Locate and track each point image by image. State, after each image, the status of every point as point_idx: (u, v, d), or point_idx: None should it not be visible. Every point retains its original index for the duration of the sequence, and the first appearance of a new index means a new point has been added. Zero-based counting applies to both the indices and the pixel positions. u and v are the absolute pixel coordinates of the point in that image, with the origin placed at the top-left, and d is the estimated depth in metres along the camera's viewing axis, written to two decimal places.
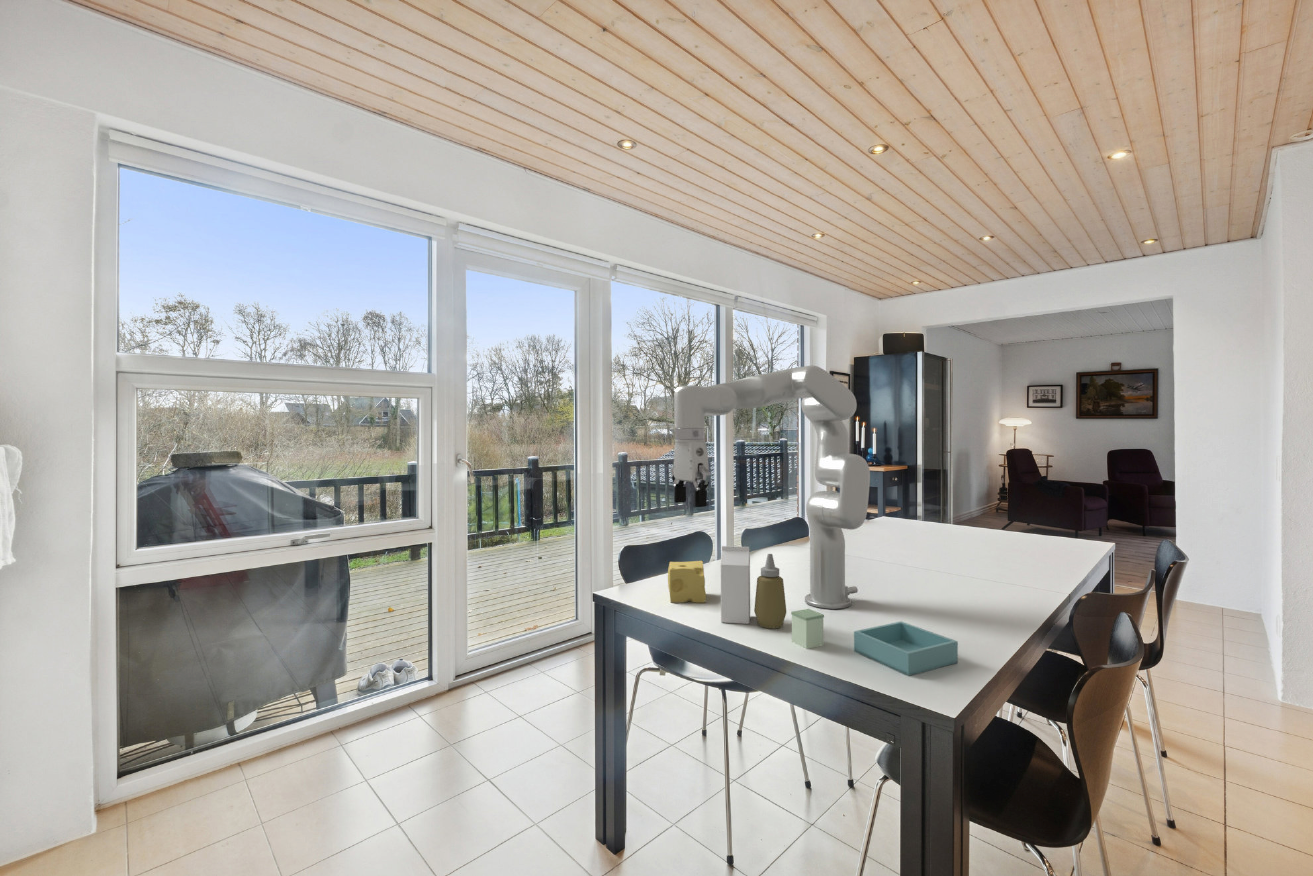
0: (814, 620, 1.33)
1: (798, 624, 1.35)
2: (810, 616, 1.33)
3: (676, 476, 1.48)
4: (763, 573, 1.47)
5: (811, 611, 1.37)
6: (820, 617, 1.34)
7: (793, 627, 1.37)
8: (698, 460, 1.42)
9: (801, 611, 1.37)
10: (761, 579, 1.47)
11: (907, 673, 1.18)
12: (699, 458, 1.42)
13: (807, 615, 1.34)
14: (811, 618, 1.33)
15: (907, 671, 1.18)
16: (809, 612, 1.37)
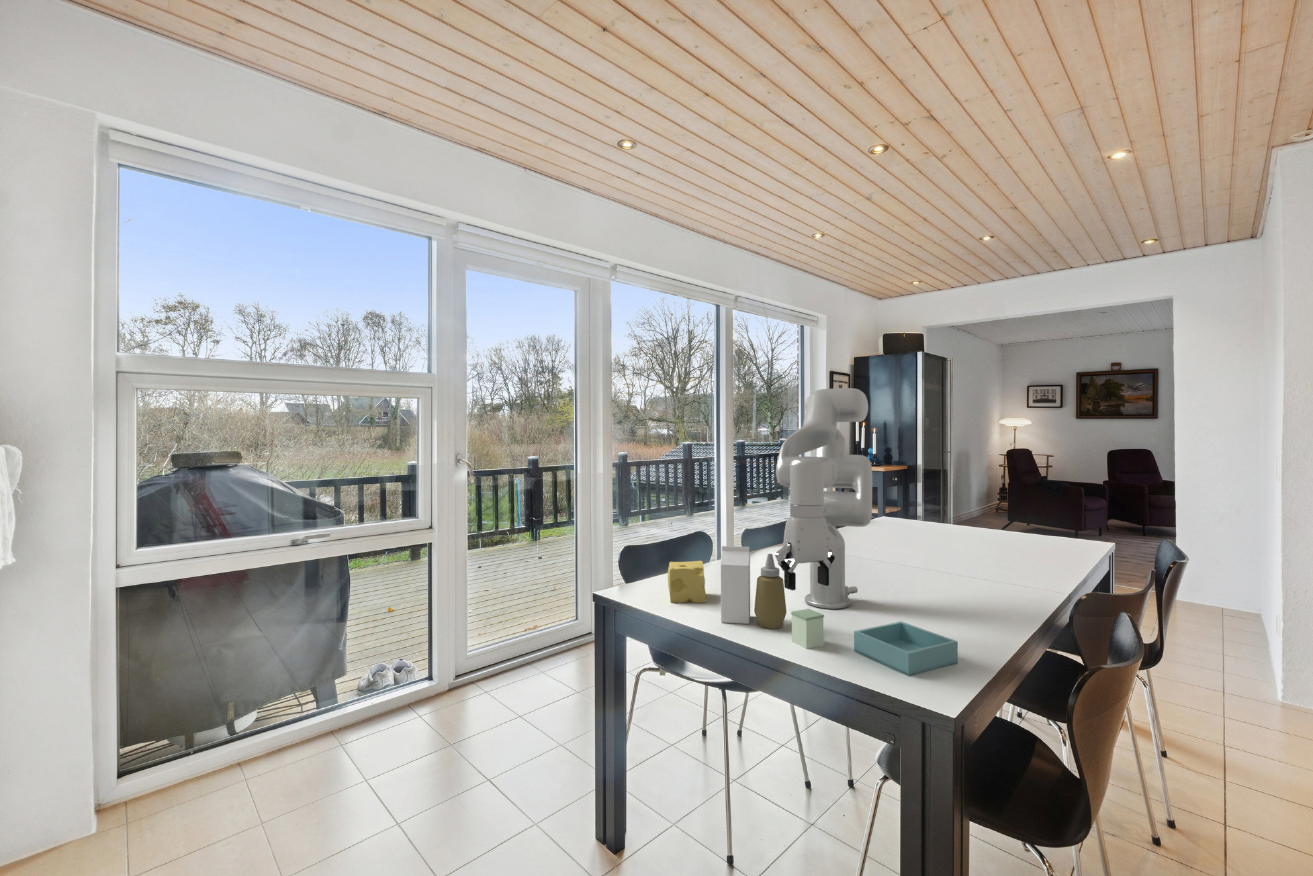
0: (814, 620, 1.33)
1: (798, 624, 1.35)
2: (810, 616, 1.33)
3: (802, 559, 1.32)
4: (763, 573, 1.47)
5: (811, 611, 1.37)
6: (820, 617, 1.34)
7: (793, 627, 1.37)
8: None
9: (801, 611, 1.37)
10: (761, 579, 1.47)
11: (907, 673, 1.18)
12: None
13: (807, 615, 1.34)
14: (811, 618, 1.33)
15: (907, 671, 1.18)
16: (809, 612, 1.37)
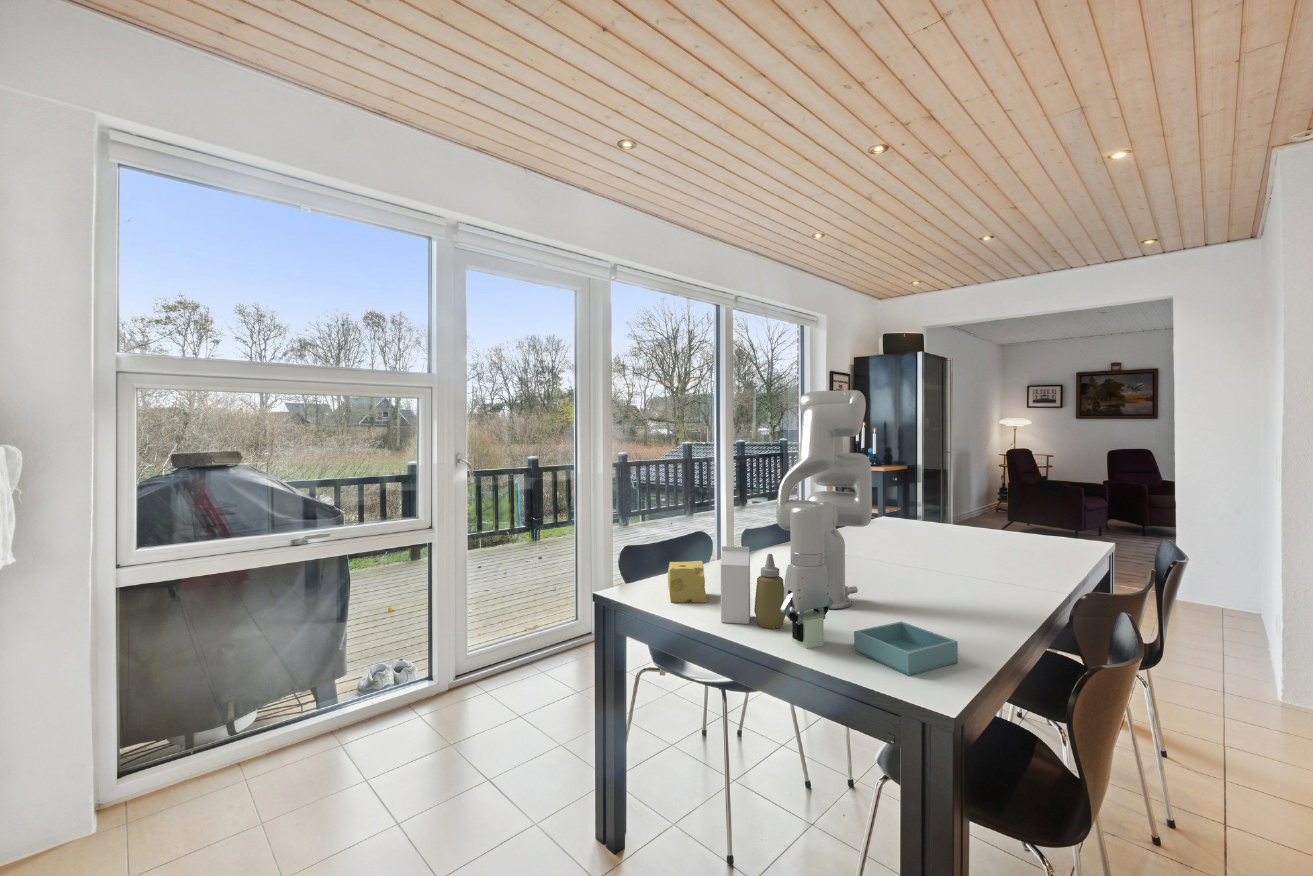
0: (814, 620, 1.33)
1: None
2: (810, 616, 1.33)
3: (802, 607, 1.32)
4: (763, 573, 1.47)
5: (811, 611, 1.37)
6: (820, 617, 1.34)
7: None
8: None
9: None
10: (761, 579, 1.47)
11: (907, 673, 1.18)
12: None
13: (807, 615, 1.34)
14: (811, 618, 1.33)
15: (907, 671, 1.18)
16: (809, 612, 1.36)
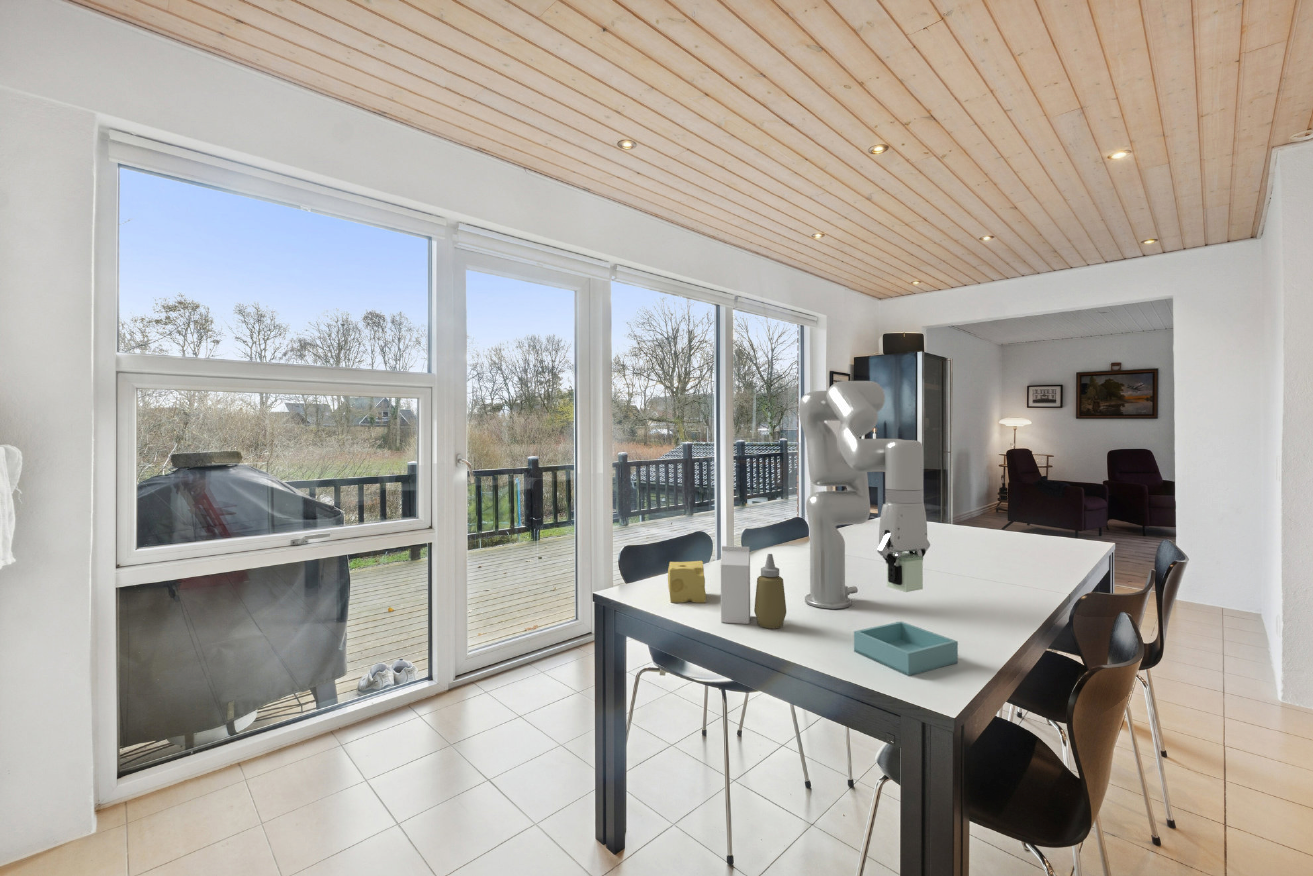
0: (913, 562, 1.24)
1: None
2: (909, 557, 1.24)
3: (901, 548, 1.24)
4: (763, 573, 1.47)
5: (907, 554, 1.28)
6: (919, 558, 1.25)
7: None
8: None
9: None
10: (761, 579, 1.47)
11: (907, 673, 1.18)
12: None
13: (905, 557, 1.25)
14: (911, 559, 1.24)
15: (907, 671, 1.18)
16: (905, 554, 1.28)
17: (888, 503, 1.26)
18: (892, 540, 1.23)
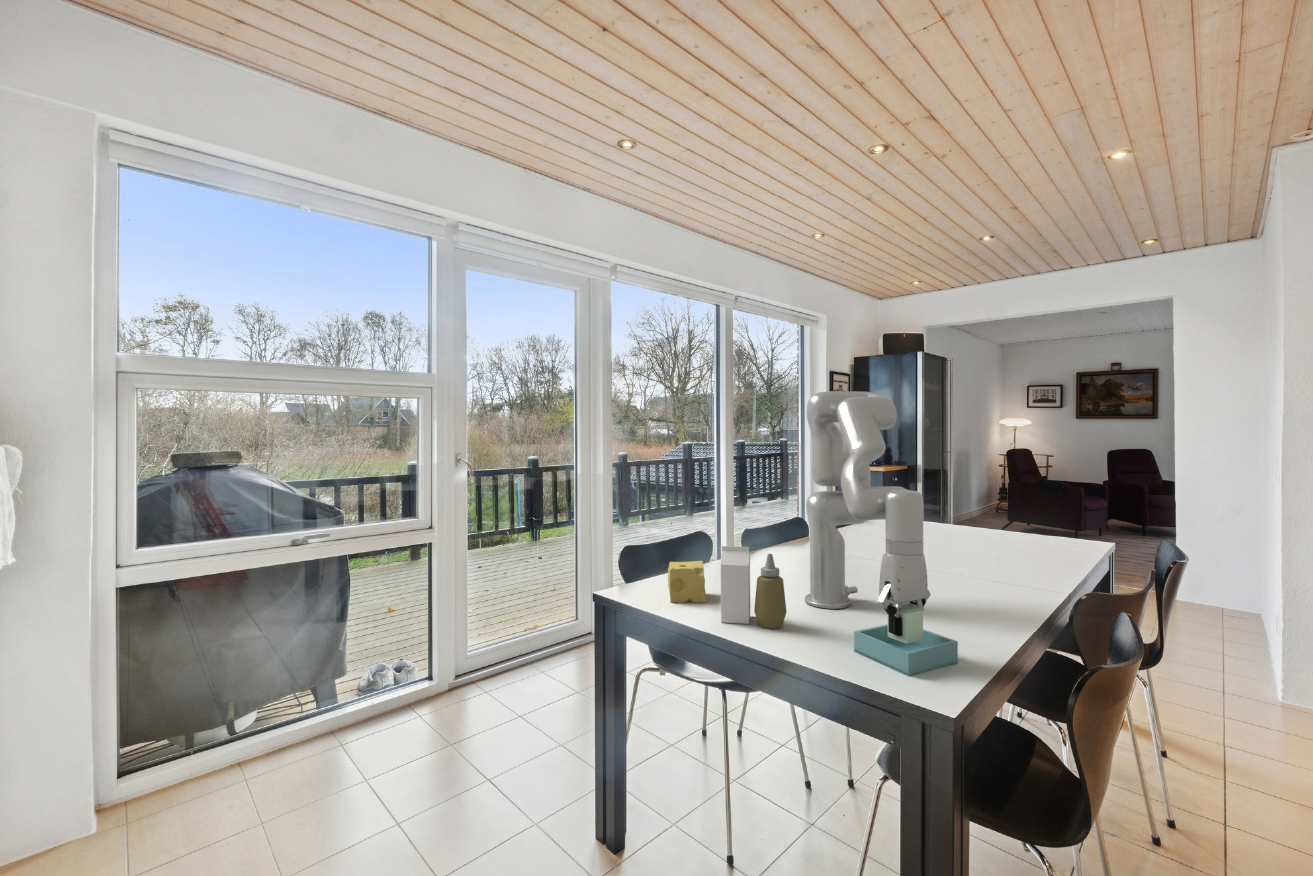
0: (914, 613, 1.25)
1: None
2: (910, 609, 1.25)
3: (902, 599, 1.24)
4: (763, 573, 1.47)
5: (908, 604, 1.28)
6: (919, 609, 1.25)
7: None
8: None
9: None
10: (761, 579, 1.47)
11: (907, 673, 1.18)
12: None
13: (906, 608, 1.25)
14: (911, 611, 1.24)
15: (907, 671, 1.18)
16: (906, 604, 1.28)
17: (888, 554, 1.26)
18: (892, 592, 1.23)
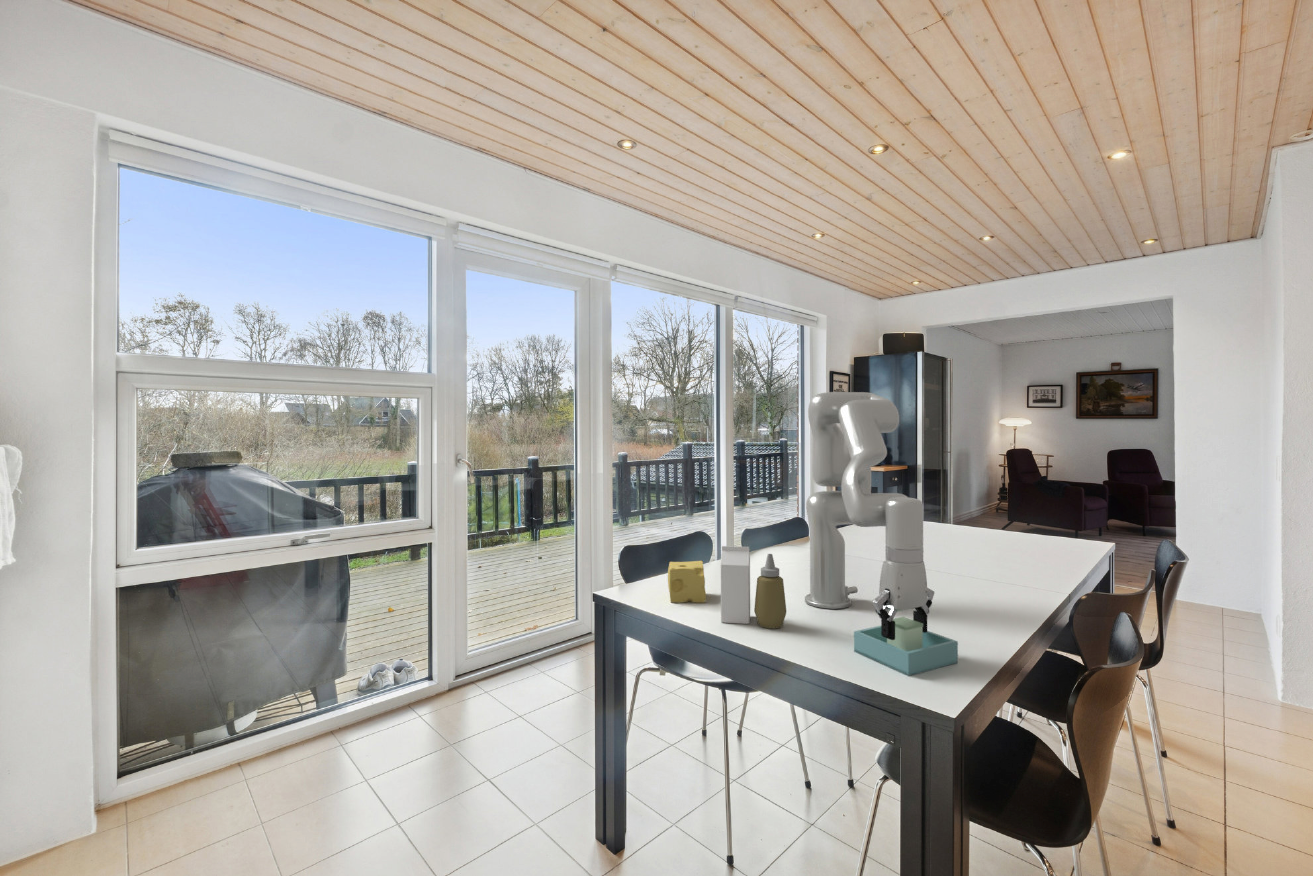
0: (913, 630, 1.25)
1: (895, 633, 1.26)
2: (909, 625, 1.25)
3: (901, 607, 1.24)
4: (763, 573, 1.47)
5: (907, 619, 1.28)
6: (919, 626, 1.25)
7: None
8: None
9: (897, 619, 1.28)
10: (761, 579, 1.47)
11: (907, 673, 1.18)
12: None
13: (905, 624, 1.25)
14: (910, 627, 1.24)
15: (907, 671, 1.18)
16: (905, 620, 1.28)
17: (888, 561, 1.26)
18: (892, 599, 1.24)
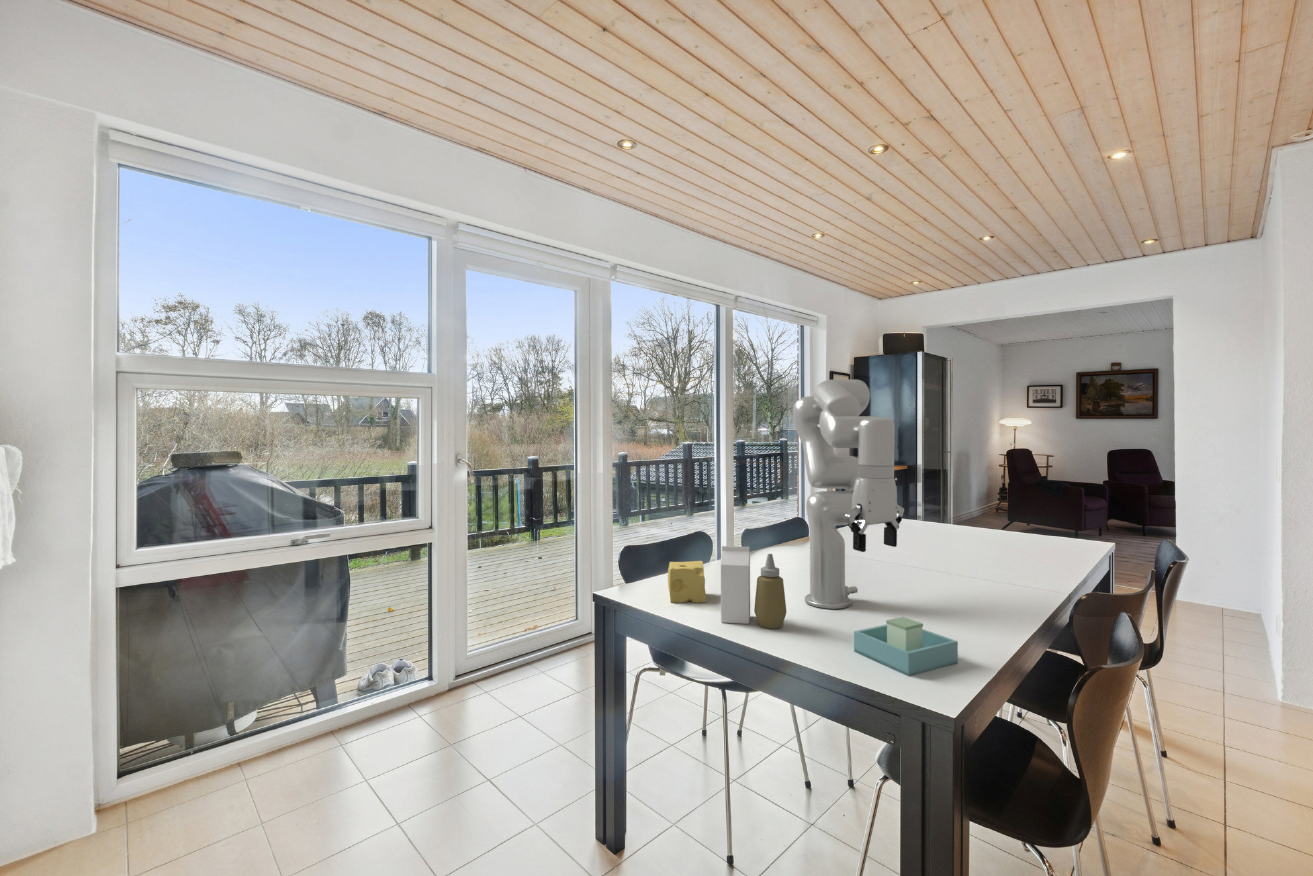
0: (913, 630, 1.25)
1: (895, 633, 1.26)
2: (909, 625, 1.25)
3: (872, 520, 1.30)
4: (763, 573, 1.47)
5: (907, 619, 1.28)
6: (919, 626, 1.25)
7: (888, 637, 1.28)
8: None
9: (897, 619, 1.28)
10: (761, 579, 1.47)
11: (907, 673, 1.18)
12: None
13: (905, 624, 1.25)
14: (910, 627, 1.24)
15: (907, 671, 1.18)
16: (905, 620, 1.28)
17: (860, 478, 1.32)
18: (863, 513, 1.29)
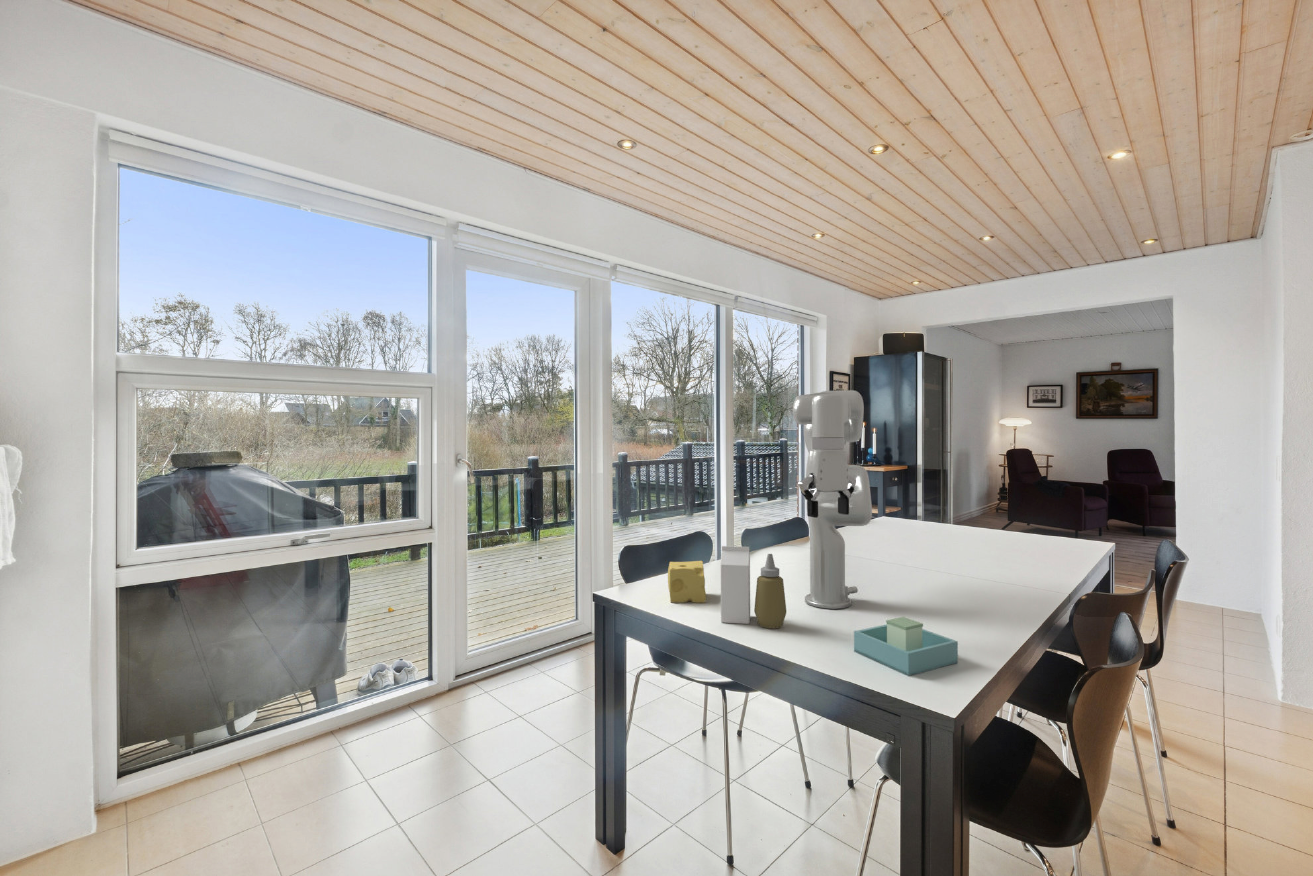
0: (913, 630, 1.25)
1: (895, 633, 1.26)
2: (909, 625, 1.25)
3: (824, 488, 1.40)
4: (763, 573, 1.47)
5: (907, 619, 1.28)
6: (919, 626, 1.25)
7: (888, 637, 1.28)
8: None
9: (897, 619, 1.28)
10: (761, 579, 1.47)
11: (907, 673, 1.18)
12: None
13: (905, 624, 1.25)
14: (910, 627, 1.24)
15: (907, 671, 1.18)
16: (905, 620, 1.28)
17: (813, 450, 1.42)
18: (815, 481, 1.40)
